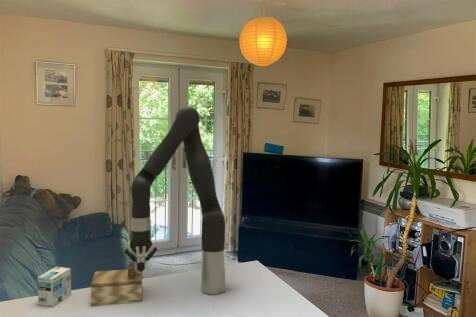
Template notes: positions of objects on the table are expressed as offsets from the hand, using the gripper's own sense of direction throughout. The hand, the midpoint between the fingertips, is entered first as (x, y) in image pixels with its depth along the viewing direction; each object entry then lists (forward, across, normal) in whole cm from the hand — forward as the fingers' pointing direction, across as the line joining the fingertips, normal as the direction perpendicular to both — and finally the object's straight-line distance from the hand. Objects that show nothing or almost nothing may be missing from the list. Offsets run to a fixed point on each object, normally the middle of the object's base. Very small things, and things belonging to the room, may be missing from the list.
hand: (140, 271), depth 145 cm
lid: (+2, +9, 0) cm, 9 cm away
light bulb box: (+10, +32, -2) cm, 33 cm away
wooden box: (+10, +9, 0) cm, 13 cm away
